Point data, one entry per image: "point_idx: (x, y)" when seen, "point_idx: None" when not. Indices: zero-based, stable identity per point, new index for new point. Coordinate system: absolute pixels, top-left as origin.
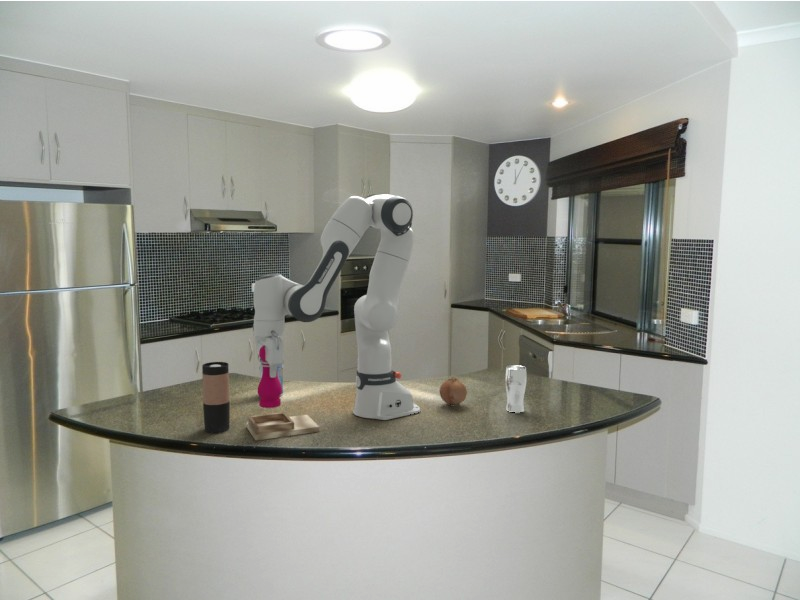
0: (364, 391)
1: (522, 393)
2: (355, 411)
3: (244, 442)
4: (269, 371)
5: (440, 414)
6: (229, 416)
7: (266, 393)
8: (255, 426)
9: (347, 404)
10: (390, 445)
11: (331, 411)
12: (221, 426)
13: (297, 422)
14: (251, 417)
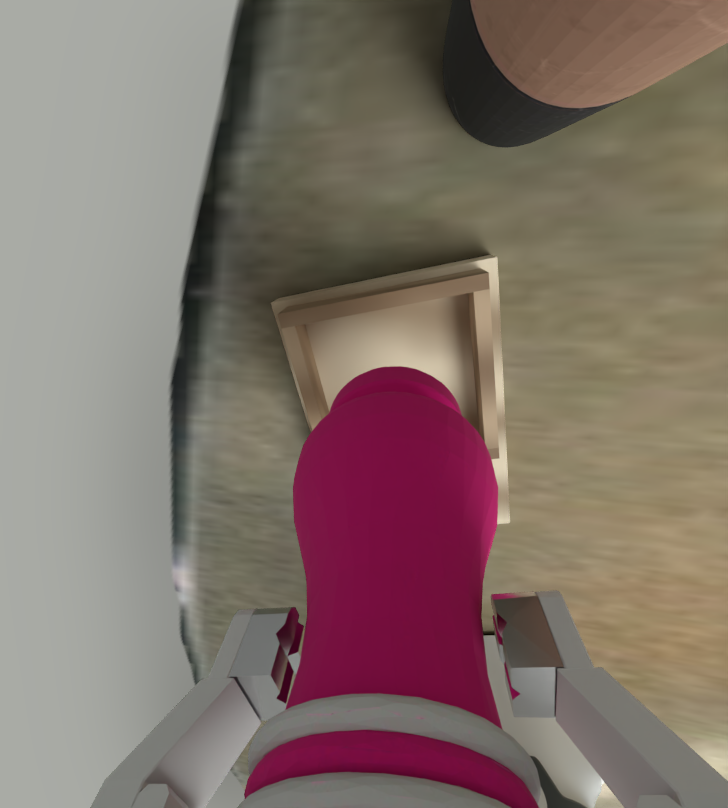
0: None
1: None
2: (485, 647)
3: (261, 245)
4: (239, 673)
5: None
6: (526, 136)
7: (299, 460)
8: (297, 311)
9: (621, 640)
10: (202, 639)
11: (563, 589)
12: (449, 86)
13: None
14: (464, 292)
